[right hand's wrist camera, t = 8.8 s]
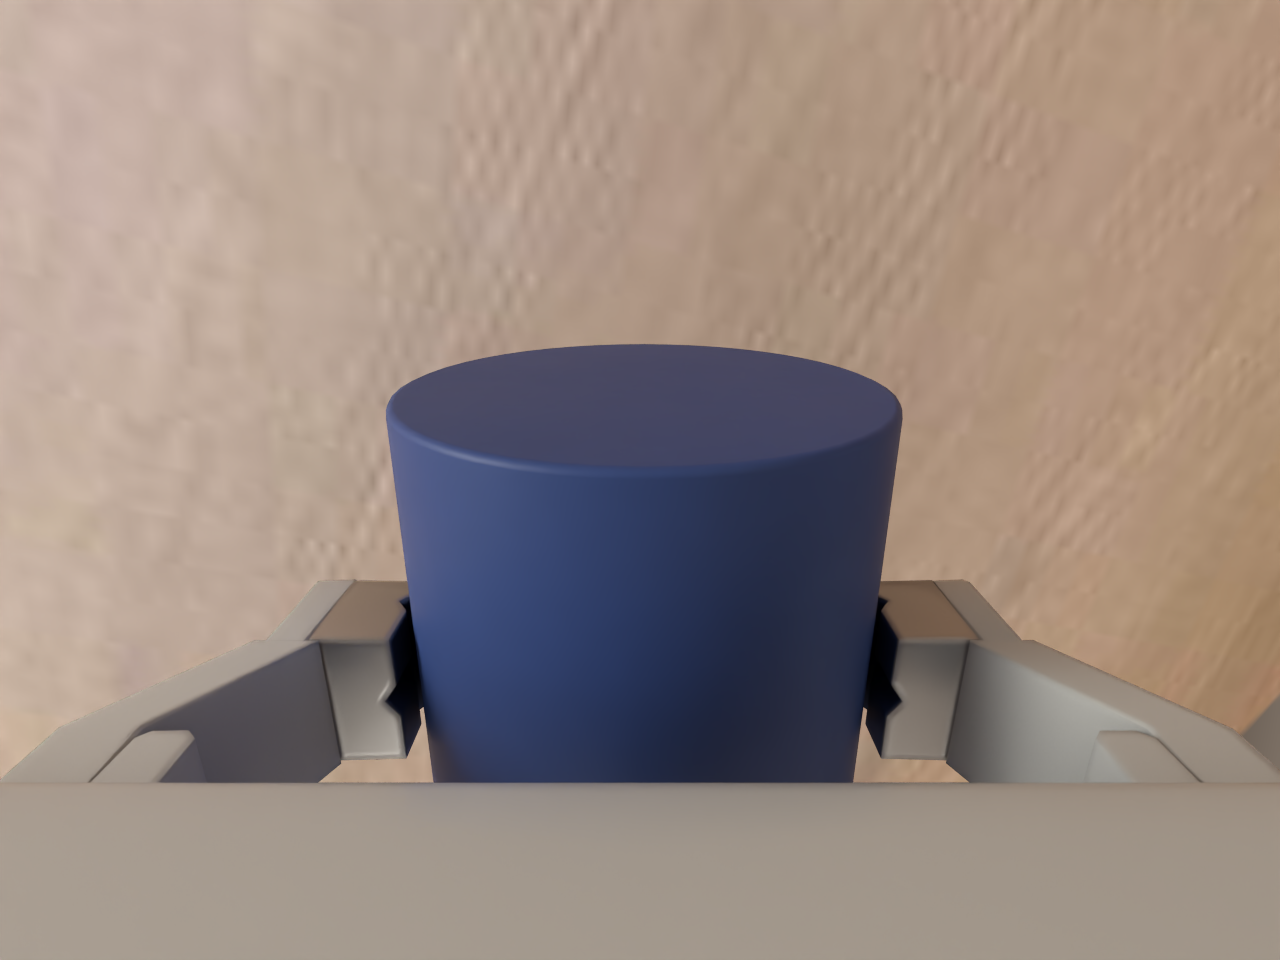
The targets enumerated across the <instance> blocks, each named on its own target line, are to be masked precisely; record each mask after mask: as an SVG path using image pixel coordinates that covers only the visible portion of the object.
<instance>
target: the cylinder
mask: <svg viewBox="0 0 1280 960" xmlns="http://www.w3.org/2000/svg"><path fill="white" fill-rule="evenodd" d="M386 421H387V428H388V436H389V444H390V451H391V459H392V467H393V474H394V482H395V490H396V497H397V505H398V513H399V520H400V528H401V536H402V543H403V551H404V559H405V566H406V574H407V582H408V589H409V597H410V605H411V612H412V620H413V628H414V635H415V643H416V651H417V658H418V666H419V674H420V681H421V689H422V697H423V704H424V712H425V720H426V727H427V735H428V743H429V750H430V758H431V766H432V773H433V781H434V783H853V778H854V771H855V764H856V756H857V749H858V742H859V734H860V727H861V720H862V712H863V705H864V698H865V690H866V683H867V676H868V668H869V661H870V654H871V646H872V639H873V632H874V624H875V617H876V610H877V602H878V595H879V587H880V580H881V573H882V565H883V558H884V551H885V543H886V536H887V529H888V521H889V514H890V507H891V499H892V492H893V485H894V477H895V470H896V463H897V455H898V448H899V441H900V433H901V426H902V408H901V405H900V403H899V401H898V399H897V398H896V396H895V395H894V394H893V393H892V392H891V391H889V390H888V389H887V388H886V387H884V386H882V385H881V384H879V383H877V382H876V381H873V380H871V379H869V378H867V377H864V376H862V375H860V374H857V373H855V372H852V371H849V370H846V369H843V368H840V367H836V366H833V365H829V364H825V363H822V362H817V361H813V360H808V359H803V358H798V357H793V356H787V355H781V354H774V353H767V352H760V351H752V350H743V349H733V348H721V347H708V346H690V345H654V344H630V345H594V346H577V347H564V348H552V349H542V350H533V351H525V352H518V353H511V354H504V355H498V356H493V357H487V358H482V359H478V360H473V361H469V362H464V363H460V364H457V365H453V366H450V367H446V368H443V369H440V370H437V371H435V372H432V373H429V374H427V375H424V376H422V377H420V378H418V379H415V380H413V381H411V382H410V383H408V384H406V385H405V386H403V387H401V388H400V389H399V390H398V391H397V392H396V393H395V394H394V395H393V396H392V397H391V399H390V401H389V403H388V405H387V409H386Z"/></svg>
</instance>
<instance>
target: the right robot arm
mask: <svg viewBox="0 0 1280 960" xmlns="http://www.w3.org/2000/svg"><path fill="white" fill-rule="evenodd" d="M422 707H424V704H423V697H422V689H421V681H420V674H419V666H418V658H417V651H416V643H415V635H414V628H413V620H412V612H411V605H410V597H409V589H408V582H407V581H365V580H360V581H357V580H325V581H318V582H317V583H316V584H315V585H314V586H313V587H312V588H311V590H310V591H309V592H308V593H307V594H306V595H305V596H304V598H303V599H302V600H301V601H300V602H299V603H298V604H297V606H296V607H295V608H294V609H293V610H292V611H291V612H290V613H289V615H288V616H287V617H286V618H285V619H284V620H283V621H282V623H281V624H280V625H279V626H278V627H277V628H276V629H275V630H274V632H273V633H272V634H271V635H270V636H269V637H268V638H267V640H254V641H252V642H249V643H247V644H245V645H243V646H241V647H238V648H236V649H234V650H232V651H229V652H227V653H225V654H223V655H220V656H218V657H216V658H214V659H211V660H209V661H207V662H205V663H202V664H200V665H198V666H196V667H193V668H191V669H189V670H187V671H185V672H182V673H180V674H178V675H176V676H173V677H171V678H169V679H167V680H164V681H162V682H160V683H158V684H155V685H153V686H151V687H149V688H146V689H144V690H142V691H140V692H138V693H135V694H133V695H131V696H129V697H126V698H124V699H122V700H120V701H117V702H115V703H113V704H111V705H108V706H106V707H104V708H102V709H99V710H97V711H95V712H93V713H91V714H88V715H86V716H84V717H82V718H79V719H77V720H75V721H73V722H70V723H68V724H66V725H64V726H61V727H59V728H58V729H57V730H56V731H54V732H53V733H52V734H51V735H50V736H49V737H48V738H47V739H45V740H44V741H43V742H42V743H41V744H40V745H39V746H37V747H36V748H35V749H34V750H33V751H32V752H31V753H30V754H28V755H27V756H26V757H25V758H24V759H23V760H22V761H21V762H19V763H18V764H17V765H16V766H15V767H14V768H13V769H12V770H10V771H9V772H8V773H7V774H6V775H5V776H4V777H2V778H1V779H0V960H1280V770H1279V769H1278V768H1277V767H1276V766H1275V765H1274V764H1273V763H1271V762H1270V761H1269V760H1268V759H1267V758H1266V757H1265V756H1263V755H1262V754H1261V753H1260V752H1259V751H1258V750H1256V749H1255V748H1254V747H1253V746H1252V745H1251V744H1250V743H1249V742H1247V741H1246V740H1245V739H1244V738H1243V737H1242V736H1241V735H1239V734H1238V733H1237V732H1236V731H1235V730H1234V729H1232V728H1230V727H1228V726H1226V725H1223V724H1221V723H1219V722H1217V721H1214V720H1212V719H1210V718H1208V717H1205V716H1203V715H1201V714H1198V713H1196V712H1194V711H1192V710H1189V709H1187V708H1185V707H1183V706H1180V705H1178V704H1176V703H1174V702H1171V701H1169V700H1167V699H1165V698H1162V697H1160V696H1158V695H1156V694H1153V693H1151V692H1149V691H1147V690H1144V689H1142V688H1140V687H1138V686H1135V685H1133V684H1131V683H1129V682H1126V681H1124V680H1122V679H1120V678H1117V677H1115V676H1113V675H1111V674H1108V673H1106V672H1104V671H1102V670H1099V669H1097V668H1095V667H1093V666H1090V665H1088V664H1086V663H1084V662H1081V661H1079V660H1077V659H1075V658H1072V657H1070V656H1068V655H1066V654H1063V653H1061V652H1059V651H1057V650H1054V649H1052V648H1050V647H1048V646H1045V645H1043V644H1041V643H1039V642H1036V641H1034V640H1021V639H1020V637H1019V636H1018V635H1017V634H1016V633H1015V632H1014V631H1013V630H1012V629H1011V627H1010V626H1009V625H1008V624H1007V623H1006V622H1005V621H1004V620H1003V619H1002V617H1001V616H1000V615H999V614H998V613H997V612H996V611H995V610H994V609H993V607H992V606H991V605H990V604H989V603H988V602H987V601H986V600H985V599H984V597H983V596H982V595H981V594H980V593H979V592H978V591H977V590H976V589H975V587H974V586H973V585H972V584H971V583H970V582H968V581H965V580H962V579H961V580H939V581H932V580H920V581H880V587H879V595H878V602H877V610H876V617H875V624H874V632H873V639H872V646H871V654H870V661H869V668H868V676H867V683H866V690H865V698H864V705H863V707H864V708H866V709H867V716H866V726H867V728H868V730H869V733H870V735H871V737H872V739H873V741H874V744H875V746H876V748H877V750H878V753H879V755H880V757H881V758H882V759H919V760H947V761H946V763H947V764H948V765H949V766H950V767H952V768H953V769H954V770H955V771H956V772H958V773H959V774H960V775H961V776H962V777H964V778H965V779H966V780H967V781H969V782H970V783H318V782H319V781H320V780H322V779H323V778H324V777H325V776H327V775H328V774H329V773H330V772H331V771H333V770H334V769H335V768H336V767H337V766H339V765H340V764H341V760H368V759H404V758H407V756H408V753H409V751H410V749H411V746H412V744H413V742H414V740H415V737H416V735H417V733H418V730H419V728H420V726H421V717H420V709H421V708H422Z"/></svg>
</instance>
